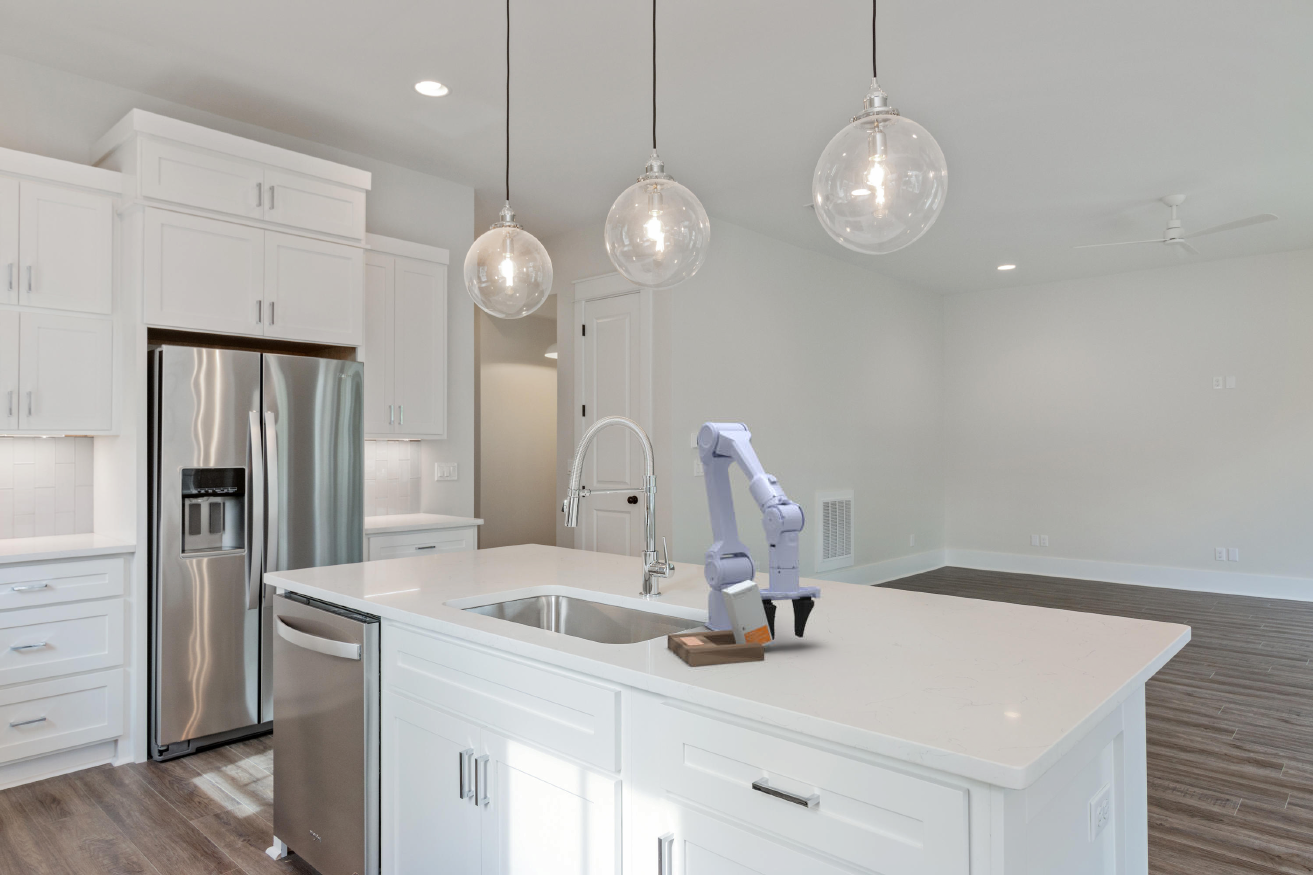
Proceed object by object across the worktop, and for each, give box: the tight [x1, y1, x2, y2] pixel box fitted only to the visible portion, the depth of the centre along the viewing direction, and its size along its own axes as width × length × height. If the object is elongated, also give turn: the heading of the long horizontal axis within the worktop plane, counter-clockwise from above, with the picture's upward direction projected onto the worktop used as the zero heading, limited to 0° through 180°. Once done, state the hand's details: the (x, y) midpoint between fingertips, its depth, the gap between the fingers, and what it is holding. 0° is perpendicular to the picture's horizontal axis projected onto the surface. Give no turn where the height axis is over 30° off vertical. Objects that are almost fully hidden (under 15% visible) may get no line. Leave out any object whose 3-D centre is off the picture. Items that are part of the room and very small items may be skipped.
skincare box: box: [722, 580, 774, 647], centre depth 148 cm, size 6×4×12 cm
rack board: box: [667, 630, 765, 668], centre depth 146 cm, size 14×14×3 cm
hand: (784, 637), depth 150 cm, fingers open, 5 cm apart
